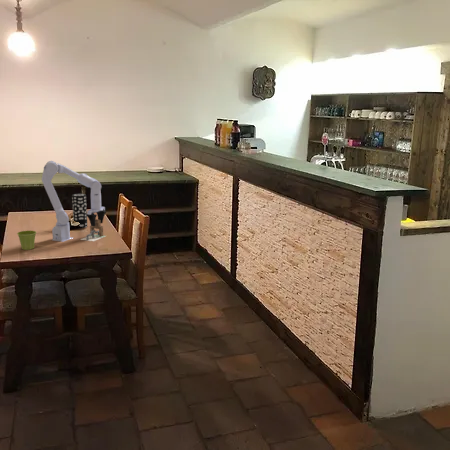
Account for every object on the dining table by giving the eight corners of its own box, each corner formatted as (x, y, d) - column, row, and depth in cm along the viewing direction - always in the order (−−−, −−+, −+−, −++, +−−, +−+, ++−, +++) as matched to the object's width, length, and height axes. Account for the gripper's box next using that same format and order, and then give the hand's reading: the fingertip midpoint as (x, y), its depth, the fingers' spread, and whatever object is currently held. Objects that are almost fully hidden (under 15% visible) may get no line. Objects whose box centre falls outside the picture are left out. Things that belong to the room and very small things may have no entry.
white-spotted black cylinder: (82, 228, 316) (80, 196, 312) (70, 227, 319) (69, 195, 315) (90, 225, 324) (88, 194, 320) (78, 224, 327) (77, 193, 322)
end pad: (101, 237, 294) (101, 237, 294) (89, 236, 297) (89, 235, 297) (105, 236, 298) (105, 235, 298) (92, 234, 301) (92, 234, 300)
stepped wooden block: (100, 236, 295) (100, 221, 293) (90, 235, 298) (89, 219, 295) (103, 235, 298) (102, 220, 295) (92, 234, 300) (92, 219, 298)
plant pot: (36, 250, 268) (35, 234, 266) (17, 251, 266) (16, 235, 264) (37, 245, 277) (36, 230, 275) (19, 246, 274) (18, 231, 273)
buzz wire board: (93, 242, 287) (93, 233, 285) (79, 240, 290) (79, 231, 288) (106, 236, 298) (106, 228, 297) (93, 235, 301) (92, 226, 300)
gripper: (94, 204, 285) (95, 227, 288) (109, 199, 298) (109, 222, 301) (83, 202, 287) (84, 226, 290) (98, 198, 301) (99, 221, 304)
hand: (96, 224), depth 296 cm, fingers open, 7 cm apart
